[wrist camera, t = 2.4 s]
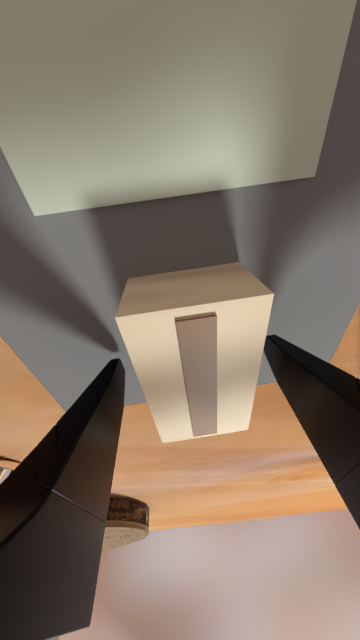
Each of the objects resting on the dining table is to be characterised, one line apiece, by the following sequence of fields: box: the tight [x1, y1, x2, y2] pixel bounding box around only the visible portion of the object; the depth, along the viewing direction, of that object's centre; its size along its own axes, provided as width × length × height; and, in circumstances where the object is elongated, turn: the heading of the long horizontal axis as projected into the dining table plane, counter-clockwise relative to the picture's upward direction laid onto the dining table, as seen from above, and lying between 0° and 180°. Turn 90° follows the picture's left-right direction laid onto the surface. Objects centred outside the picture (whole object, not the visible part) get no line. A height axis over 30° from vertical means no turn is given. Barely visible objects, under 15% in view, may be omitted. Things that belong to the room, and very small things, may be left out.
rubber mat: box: [0, 0, 360, 411], centre depth 7 cm, size 20×17×1 cm
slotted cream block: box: [115, 262, 274, 443], centre depth 9 cm, size 8×4×3 cm, turn 6°
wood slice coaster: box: [102, 497, 149, 549], centre depth 27 cm, size 16×16×3 cm
